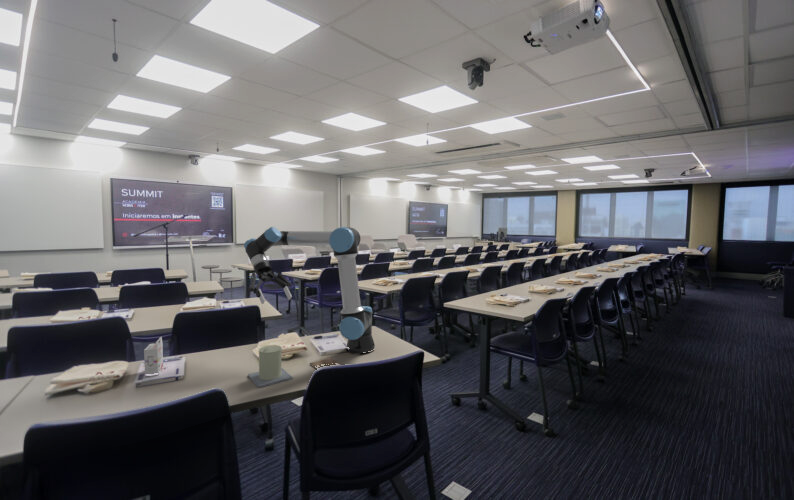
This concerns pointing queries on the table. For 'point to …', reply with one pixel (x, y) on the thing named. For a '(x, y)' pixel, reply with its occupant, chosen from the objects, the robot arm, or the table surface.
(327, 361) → the walnut coaster
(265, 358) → the can
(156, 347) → the ink cartridge box
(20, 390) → the table surface
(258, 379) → the grey mat
